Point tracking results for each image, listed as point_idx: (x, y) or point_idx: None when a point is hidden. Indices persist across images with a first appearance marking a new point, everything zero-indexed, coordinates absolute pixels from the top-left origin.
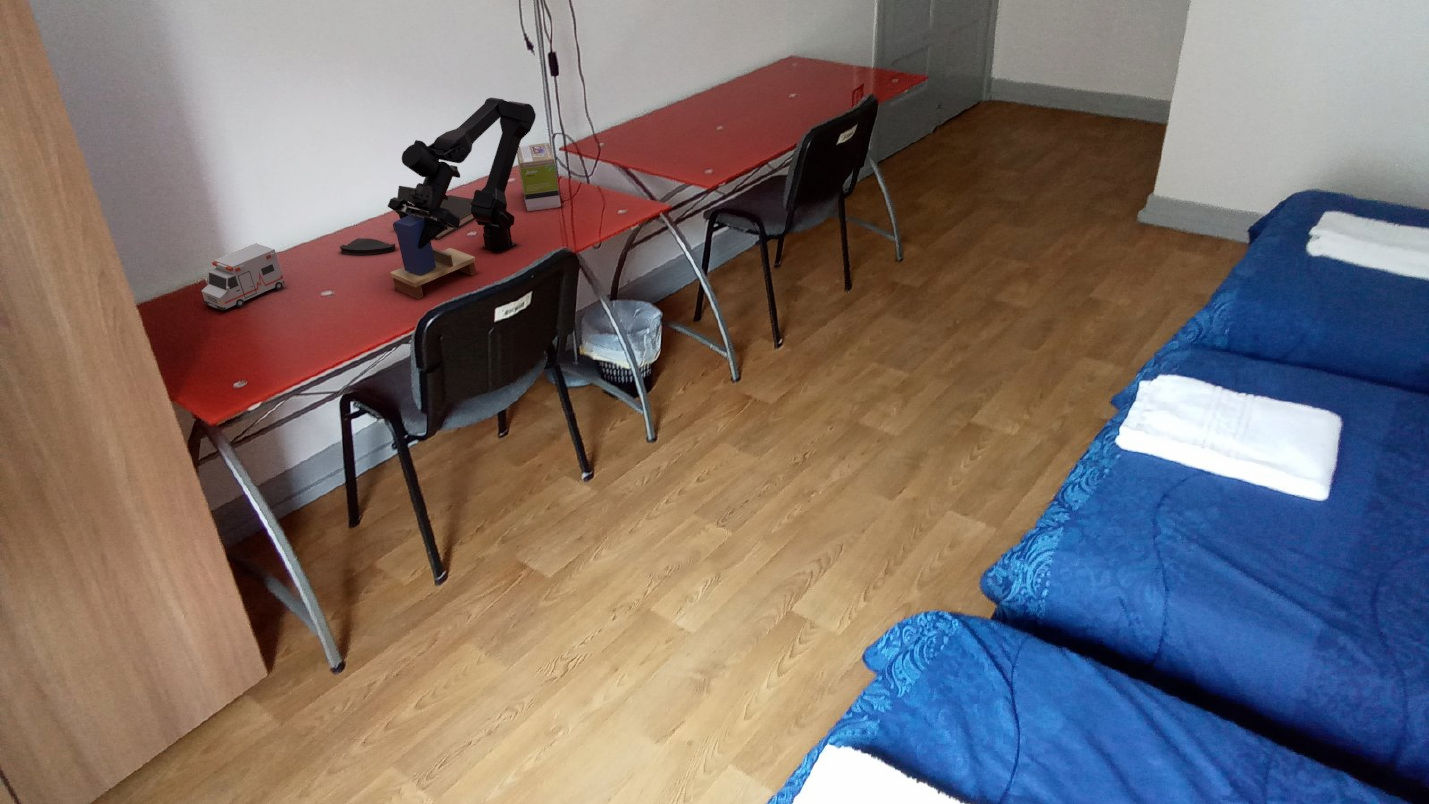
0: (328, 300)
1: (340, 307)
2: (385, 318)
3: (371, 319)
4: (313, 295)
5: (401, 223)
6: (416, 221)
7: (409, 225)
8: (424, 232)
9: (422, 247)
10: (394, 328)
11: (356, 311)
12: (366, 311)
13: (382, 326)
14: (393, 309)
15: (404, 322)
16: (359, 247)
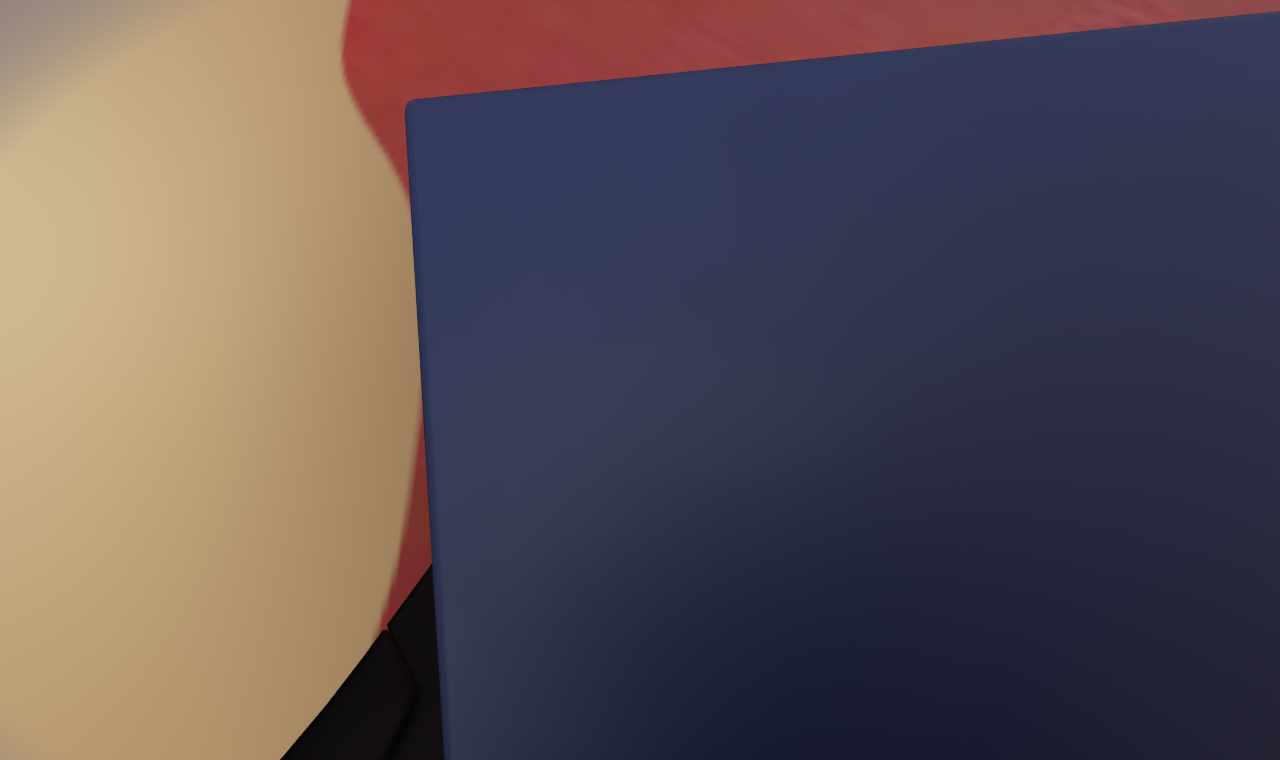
0: (1053, 22)
1: (899, 9)
2: (526, 71)
3: (591, 19)
4: (1196, 11)
5: (1091, 67)
6: (661, 720)
7: (522, 125)
8: (408, 657)
9: None
10: (365, 26)
11: (766, 30)
12: (713, 62)
13: (453, 3)
14: None
15: (373, 103)
16: None
